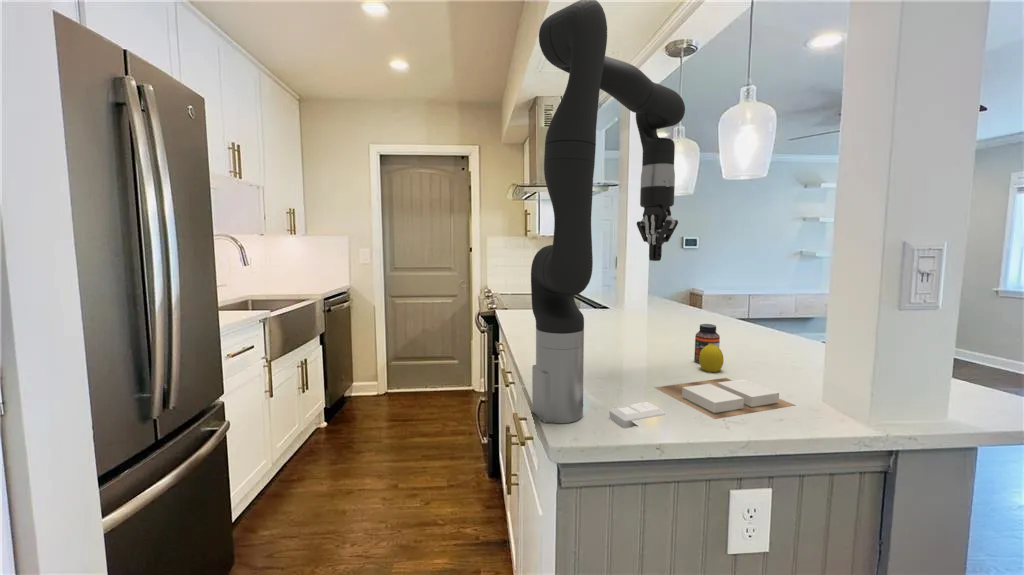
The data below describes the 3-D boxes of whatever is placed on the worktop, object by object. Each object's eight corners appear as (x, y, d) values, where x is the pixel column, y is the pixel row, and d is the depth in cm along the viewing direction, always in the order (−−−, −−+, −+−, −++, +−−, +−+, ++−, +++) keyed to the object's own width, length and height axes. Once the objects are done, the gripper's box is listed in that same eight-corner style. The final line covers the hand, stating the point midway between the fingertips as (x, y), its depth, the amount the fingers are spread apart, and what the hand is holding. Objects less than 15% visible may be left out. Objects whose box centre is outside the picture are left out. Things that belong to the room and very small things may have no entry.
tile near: (681, 397, 92) (714, 414, 83) (682, 387, 91) (714, 402, 83) (709, 393, 94) (743, 409, 85) (709, 383, 94) (743, 398, 85)
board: (714, 425, 81) (714, 418, 81) (654, 392, 98) (654, 387, 98) (795, 411, 87) (795, 405, 87) (725, 382, 104) (725, 377, 104)
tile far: (716, 392, 94) (751, 408, 86) (717, 382, 94) (751, 397, 86) (742, 388, 97) (778, 403, 88) (742, 379, 96) (779, 392, 88)
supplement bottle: (689, 364, 119) (690, 323, 118) (707, 362, 121) (708, 322, 120) (704, 371, 113) (706, 328, 112) (723, 368, 115) (725, 326, 114)
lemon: (725, 379, 107) (726, 347, 106) (701, 377, 108) (702, 346, 107) (719, 372, 112) (720, 341, 111) (696, 371, 114) (697, 340, 113)
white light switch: (664, 422, 83) (665, 409, 83) (624, 430, 80) (624, 416, 80) (648, 413, 88) (648, 400, 88) (609, 419, 85) (609, 406, 85)
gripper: (627, 188, 107) (625, 259, 109) (661, 182, 94) (659, 262, 96) (653, 189, 109) (651, 259, 111) (690, 183, 97) (687, 261, 99)
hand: (655, 260), depth 104 cm, fingers closed
